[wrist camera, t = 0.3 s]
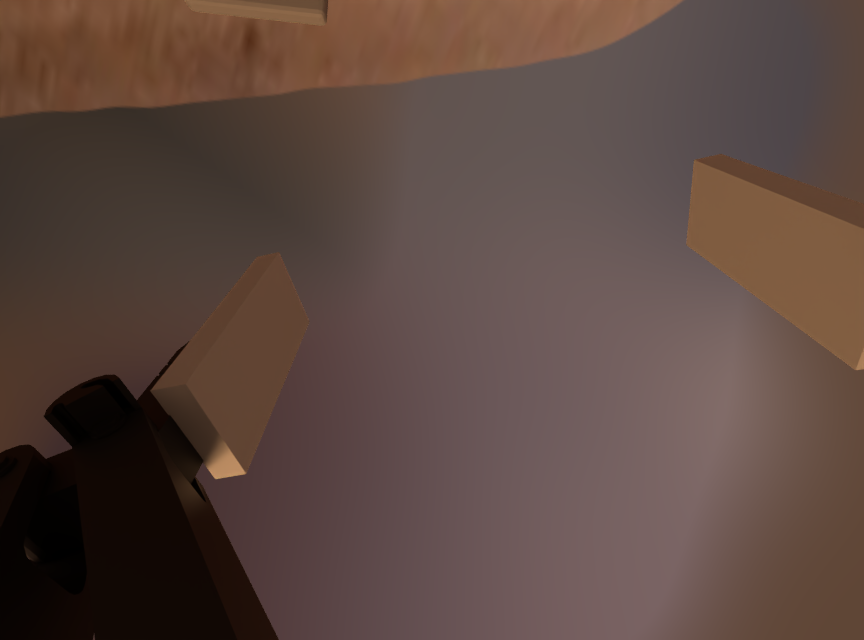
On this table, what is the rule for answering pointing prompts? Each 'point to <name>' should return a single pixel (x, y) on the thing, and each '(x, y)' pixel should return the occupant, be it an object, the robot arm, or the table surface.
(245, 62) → the table surface
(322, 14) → the light switch
